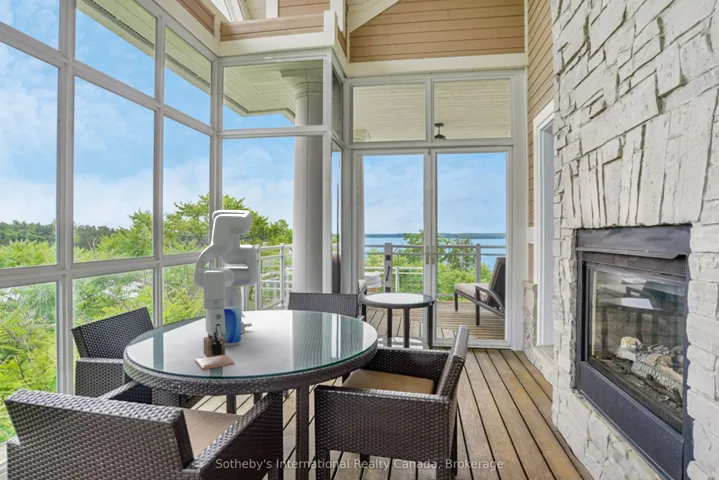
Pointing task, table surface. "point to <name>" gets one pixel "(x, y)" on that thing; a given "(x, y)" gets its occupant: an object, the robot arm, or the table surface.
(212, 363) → the coaster
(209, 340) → the walnut block
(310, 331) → the table surface
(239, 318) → the beer can
